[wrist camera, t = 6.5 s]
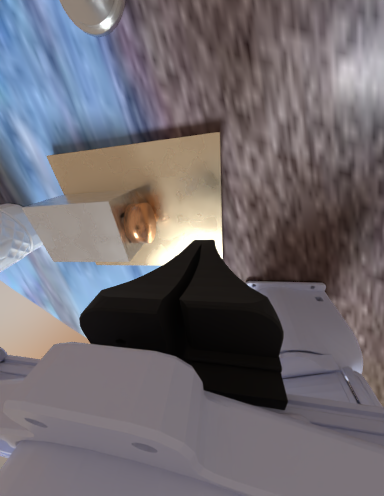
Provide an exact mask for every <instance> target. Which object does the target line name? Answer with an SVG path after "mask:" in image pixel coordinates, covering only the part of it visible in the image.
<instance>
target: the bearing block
mask: <svg viewBox="0 0 384 496" xmlns="http://www.w3.org/2000/svg"><path fill="white" fill-rule="evenodd" d="M47 158H48V161H49V163H50V165H51V167H52V169H53V171H54V174H55V176H56V178H57V180H58V182H59V184H60V187H61V189H62V191H63V193H64V195H62V196H58V197H55V198H52V199H48V200H45V201H41V202H38V203H35V204H31V205H28V206H25V207H21V208H22V210H23V212H24V213H25V215H26V217H27V218H28V220H29V222H30V223H31V225H32V226H33V228H34V230H35V231H36V233H37V235H38V236H39V238H40V240H41V241H42V243H43V245H44V246H45V248H46V250H47V251H48V253H49V255H50V256H51V258H52V260H53V261H54V262H96V265H164V264H166V263H167V262H168V261H170V260H171V259H173V258H174V257H175V256H176V255H178V254H179V253H180V252H181V251H182V250H184V249H185V248H186V247H187V246H188V245H189V244H190V243H191V242H192V241H194V240H210V239H213V240H214V241H215V245H216V248H217V250H218V252H219V254H220V256H221V258H222V259H223V249H222V202H221V155H220V132H216V133H208V134H201V135H194V136H187V137H180V138H172V139H165V140H158V141H151V142H144V143H136V144H129V145H122V146H115V147H107V148H100V149H93V150H86V151H79V152H71V153H64V154H57V155H50V156H47ZM135 203H148V204H150V205H151V207H152V208H153V211H154V214H155V218H156V234H155V238H154V240H153V241H152V242H151V243H132V242H131V241H130V240H129V239H128V237H127V235H126V233H125V229H124V225H123V222H122V219H121V214H123V213H124V212H125V209H126V207H127V206H128V205H129V204H135Z"/></svg>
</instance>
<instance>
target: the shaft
mask: <svg viewBox="0 0 384 496" xmlns="http://www.w3.org/2000/svg"><path fill="white" fill-rule="evenodd" d="M121 219H122V222H123V225H124V229H125V233H126V235H127V237H128V239H129V240H130V241H131V242H132V243H151V242H152V241H153V240H154V238H155V234H156V218H155V214H154V211H153V208H152V207H151V205H150V204H148V203H135V204H129V205H128V206H127V207H126V209H125V212H124V213H123V214H121Z"/></svg>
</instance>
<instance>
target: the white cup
mask: <svg viewBox="0 0 384 496" xmlns="http://www.w3.org/2000/svg"><path fill="white" fill-rule="evenodd" d="M21 207H22V206H20V205H16V204H10V203H7V204H2V205H0V272H2V271H4V270H5V269H7V268H8V267H10V266H11V265H13V264H14V263H16V262H18V261H19V260H21V259H22V258H24V257H25V256H26V255H27V254H29V253H31V252H32V251H34V250H36V249H37V248H39V247H41V246H43V243H42V241H41V240H40V238H39V236H38V235H37V233H36V231H35V230H34V228H33V226H32V225H31V223H30V222H29V220H28V218H27V217H26V215H25V213H24V212H23V210H22V208H21Z"/></svg>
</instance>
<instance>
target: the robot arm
mask: <svg viewBox="0 0 384 496" xmlns="http://www.w3.org/2000/svg"><path fill="white" fill-rule="evenodd" d="M253 284H255V285H253ZM311 286H312V287H311ZM325 289H326V285H325V284H324V283H311V282H268V281H248V282H246V284H245V283H244V282H243V281H242V280H240V279H239V278H238V277H237V276H236V275H235V274H234V273H233V272H232V271H231V270H230V269H229V268H228V266H227V265H226V264H225V262H224V261H223V259H222V258H221V256H220V254H219V252H218V250H217V248H216V245H215V241H214V240H213V239H210V240H194V241H192V242H191V243H190V244H189V245H188V246H187V247H186V248H185V249H184V250H182V251H181V252H180V253H179V254H178V255H176V256H175V257H174V258H173V259H171V260H170V261H168V262H167V263H166V264H164V265H162V266H161V267H159V268H157V269H155V270H153V271H152V272H150V273H148V274H146V275H144V276H141V277H139V278H137V279H134V280H132V281H129V282H126V283H123V284H120V285H117V286H114V287H111V288H107V289H104V290H101V291H100V293H99V294H98V295H97V296H96V297H95V298H94V300H93V301H92V302H91V303H90V304H89V305H88V307H87V308H86V309H85V310H84V311H83V312H82V313H81V316H80V318H79V320H80V327H81V329H82V331H83V333H84V334H85V336H86V337H87V339H88V340H89V342H90V343H91V344H85V343H77V342H69V343H59V344H55V345H53V346H52V347H51V349H50V350H49V351H48V352H47V353H46V354H45V355H44V357H43V358H42V359H41V360H40V359H33V358H26V357H18V356H12V355H7V353H6V352H5V350H3V349H2V348H1V347H0V456H2V457H6V458H8V460H7V461H6V462H5V464H4V465H3V467H2V468H1V470H0V496H384V407H382V405H381V404H380V402H379V400H378V399H377V397H376V395H375V394H374V392H373V391H372V389H371V387H370V386H369V384H368V383H367V381H366V380H365V378H364V377H363V376H362V374H361V373H362V370H363V357H362V352H361V349H360V346H359V343H358V341H357V339H356V337H355V335H354V333H353V331H352V330H351V328H350V327H349V325H348V324H347V323H346V321H345V320H344V318H343V317H342V315H341V314H340V313H339V311H338V310H337V308H336V307H335V305H334V304H333V303H332V301H331V300H330V298H329V297H328V295H327V294H326V292H325ZM348 381H349V383H348ZM349 384H350V385H349ZM350 386H351V387H350ZM351 388H352V389H351ZM352 390H353V391H352ZM353 392H354V393H355V395H356V396H355V395H354V393H353ZM356 397H357V398H356ZM357 399H358V400H357Z"/></svg>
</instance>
